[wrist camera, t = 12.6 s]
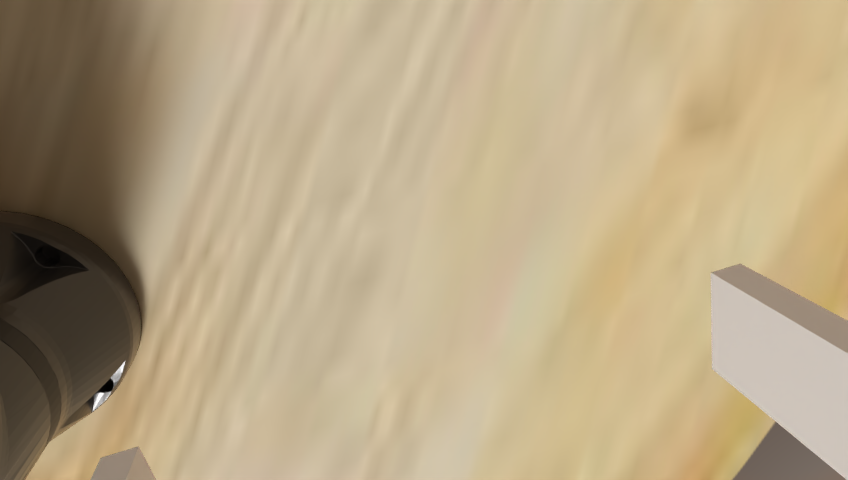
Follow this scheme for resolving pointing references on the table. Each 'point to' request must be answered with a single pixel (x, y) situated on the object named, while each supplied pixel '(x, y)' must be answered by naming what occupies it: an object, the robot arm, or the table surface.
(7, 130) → the table surface
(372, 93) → the table surface
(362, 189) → the table surface
